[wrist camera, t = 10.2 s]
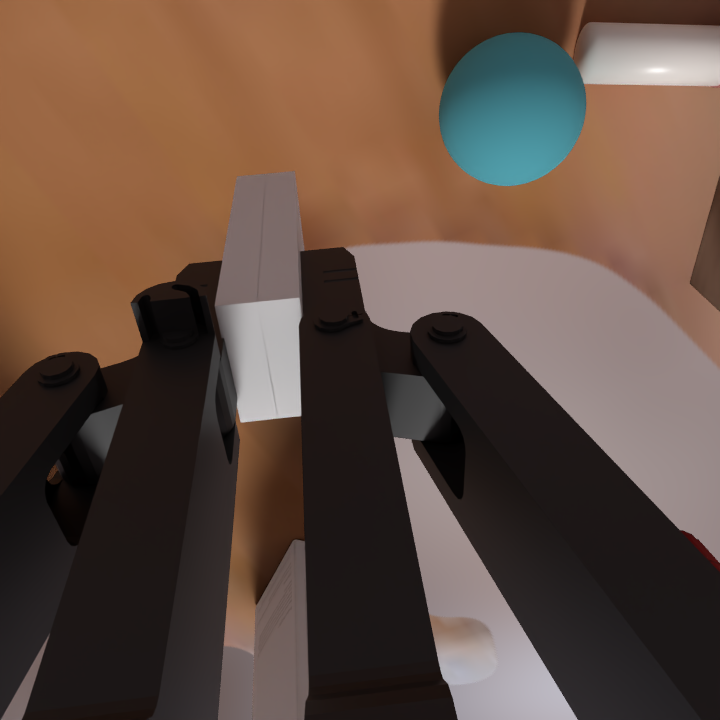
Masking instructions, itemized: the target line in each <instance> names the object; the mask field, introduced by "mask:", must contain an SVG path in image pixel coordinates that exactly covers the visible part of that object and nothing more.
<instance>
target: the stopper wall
mask: <svg viewBox="0 0 720 720" xmlns="http://www.w3.org/2000/svg"><path fill="white" fill-rule="evenodd" d="M690 284H691V285H692V286H693V287H694V288H695V289H696V290H697V291H698V292H699V293H700V294H701V295H703V296H704V297H705V298H706V299H707V300H708V301H709V302H710V303H711V304H712V305H713V306H714V307H715V308H716V309H717V310H719V311H720V178H719V182H718V185H717V189H716V193H715V196H714V200H713V203H712V207H711V210H710V214H709V217H708V221H707V225H706V228H705V232H704V235H703V239H702V242H701V246H700V250H699V253H698V257H697V260H696V264H695V267H694V271H693V275H692V278H691V282H690Z"/></svg>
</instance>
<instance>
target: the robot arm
mask: <svg viewBox="0 0 720 720" xmlns="http://www.w3.org/2000/svg"><path fill="white" fill-rule="evenodd" d="M131 306H132V309H133V313H134V316H135V319H136V322H137V325H138V328H139V332H140V335H141V338H142V341H143V343H142V346H141V349H140V352H139V356H137V357H135V358H133V359H130V360H127V361H124V362H121V363H118V364H114V365H111V366H108V367H104V368H100V366H99V363H98V360H97V358H95V357H94V356H92V355H91V354H89V353H83V352H67V353H66V352H65V353H59V354H57V355H52V356H49V357H47V358H46V359H44V360H42V361H40V362H38V363H36V364H34V365H33V366H32V367H30V368H29V369H28V370H27V371H25V372H24V373H23V374H22V375H21V377H20V378H19V379H18V380H17V381H16V382H15V383H14V384H13V385H12V386H11V387H10V388H9V389H8V391H7V392H6V393H5V394H4V395H3V396H2V397H1V398H0V720H1V719H2V717H3V715H4V713H5V711H6V710H7V708H8V706H9V704H10V703H11V701H12V699H13V697H14V696H15V694H16V692H17V690H18V689H19V687H20V685H21V683H22V682H23V680H24V678H25V676H26V674H27V673H28V671H29V669H30V667H31V666H32V664H33V662H34V660H35V659H36V657H37V655H38V653H39V652H40V650H41V648H42V646H43V645H44V643H45V641H46V639H47V637H48V636H49V638H48V641H47V644H46V647H45V650H44V654H43V657H42V660H41V663H40V666H39V669H38V672H37V676H36V679H35V682H34V685H33V688H32V691H31V694H30V698H29V701H28V704H27V707H26V710H25V713H24V715H23V718H22V720H218V707H219V695H220V682H221V670H222V658H223V657H222V656H223V645H224V633H225V620H226V607H227V595H228V582H229V570H230V557H231V544H232V532H233V519H234V507H235V494H236V481H237V469H238V456H239V444H240V439H239V434H238V430H237V425H236V421H235V419H236V408H238V412H239V417H240V421H241V422H250V421H259V420H268V419H277V418H287V417H296V416H301V425H302V461H303V496H304V531H305V567H306V602H307V638H308V673H309V691H308V697H307V699H306V701H305V714H304V720H458V719H457V715H456V711H455V707H454V702H453V698H452V695H451V692H450V689H449V686H448V684H447V683H446V681H445V680H444V679H443V677H442V674H441V671H440V666H439V662H438V657H437V652H436V647H435V642H434V637H433V632H432V627H431V622H430V617H429V612H428V607H427V603H426V597H425V592H424V588H423V582H422V577H421V572H420V567H419V562H418V558H417V552H416V547H415V543H414V537H413V532H412V527H411V522H410V517H409V513H408V508H407V502H406V497H405V492H404V487H403V483H402V477H401V472H400V467H399V462H398V458H397V453H396V447H395V443H394V437H398V438H406V439H412V443H413V447H414V450H415V451H416V453H417V455H418V456H419V458H420V460H421V461H422V463H423V465H424V466H425V468H426V470H427V471H428V473H429V474H430V476H431V478H432V479H433V481H434V483H435V484H436V486H437V488H438V489H439V491H440V492H441V494H442V496H443V498H444V499H445V501H446V503H447V504H448V506H449V508H450V509H451V511H452V512H453V514H454V516H455V517H456V519H457V521H458V522H459V524H460V526H461V527H462V529H463V531H464V532H465V534H466V535H467V537H468V539H469V541H470V542H471V544H472V546H473V547H474V549H475V550H476V552H477V553H478V555H479V557H480V558H481V560H482V562H483V564H484V565H485V567H486V569H487V570H488V572H489V574H490V575H491V577H492V578H493V580H494V582H495V583H496V585H497V587H498V588H499V590H500V592H501V593H502V595H503V597H504V598H505V600H506V602H507V603H508V605H509V607H510V608H511V610H512V611H513V613H514V615H515V617H516V618H517V620H518V621H519V623H520V625H521V626H522V628H523V630H524V631H525V633H526V635H527V636H528V638H529V639H530V641H531V643H532V645H533V646H534V648H535V650H536V651H537V653H538V655H539V656H540V658H541V659H542V661H543V663H544V664H545V666H546V668H547V669H548V671H549V673H550V674H551V676H552V678H553V679H554V681H555V683H556V684H557V686H558V687H559V689H560V691H561V692H562V694H563V696H564V697H565V699H566V701H567V702H568V704H569V706H570V707H571V709H572V710H573V712H574V714H575V715H576V717H577V719H578V720H720V572H719V571H718V570H717V569H716V568H715V567H714V566H713V564H712V563H711V562H710V561H709V560H708V559H707V558H706V557H705V556H704V555H703V554H702V553H701V552H700V551H699V550H698V549H697V548H696V547H695V546H694V545H693V544H692V543H691V542H690V540H689V539H688V538H687V537H686V536H685V535H684V534H683V533H682V532H681V531H680V530H679V529H678V528H677V527H676V526H675V525H674V524H673V523H672V522H671V521H670V520H669V519H668V518H667V517H666V516H665V514H664V513H663V512H662V511H661V510H660V509H659V508H658V507H657V506H656V505H655V504H654V503H653V502H652V501H651V500H650V499H649V498H648V497H647V496H646V495H645V494H644V493H643V491H642V490H641V489H640V488H639V487H638V486H637V485H636V484H635V483H634V482H633V481H632V480H631V479H630V478H629V477H628V476H627V475H626V474H625V473H624V472H623V471H622V470H621V469H620V467H619V466H618V465H617V464H616V463H614V461H613V460H612V459H611V458H610V457H609V456H608V455H607V454H606V453H605V452H604V451H603V450H602V449H601V448H600V447H599V446H598V445H597V444H596V442H594V440H593V439H592V438H591V437H590V436H589V435H588V434H587V433H586V432H585V431H584V430H583V429H582V428H581V427H580V426H579V425H578V424H577V423H576V422H575V421H574V420H573V419H572V417H570V415H569V414H568V413H567V412H566V411H565V410H564V409H563V408H562V407H561V406H560V405H559V404H558V403H557V402H556V401H555V400H554V399H553V398H552V397H551V396H550V394H549V393H548V392H547V391H546V390H545V389H544V388H543V387H542V386H541V385H540V384H539V383H538V382H537V381H536V380H535V379H534V378H533V377H532V376H531V375H530V374H529V373H528V372H527V371H526V369H524V368H523V366H522V365H521V364H520V363H518V361H517V360H516V359H515V358H514V357H513V356H512V355H511V354H510V353H509V352H508V351H507V350H506V349H505V348H504V347H503V346H502V344H501V343H500V342H499V341H498V340H497V339H496V338H495V337H494V336H493V335H492V334H491V333H490V332H489V331H488V330H487V329H486V328H485V327H484V326H483V325H482V324H481V323H480V322H479V321H477V320H476V319H474V318H473V317H471V316H468V315H465V314H461V313H457V312H439V313H432V314H429V315H426V316H424V317H421V318H420V319H418V320H417V321H416V322H415V323H414V324H413V325H412V328H411V331H410V333H408V332H398V331H392V330H387V329H384V328H381V327H379V326H377V325H375V324H374V323H372V322H371V321H370V318H369V316H368V315H367V313H366V312H365V309H364V304H363V298H362V293H361V288H360V283H359V279H358V273H357V268H356V263H355V258H354V256H353V255H352V254H351V253H350V252H348V251H347V250H346V249H345V248H344V247H340V248H329V249H319V250H309V251H304V244H303V235H302V227H301V219H300V211H299V202H298V194H297V186H296V178H295V171H292V172H281V173H270V174H259V175H248V176H238V177H237V180H236V186H235V191H234V197H233V203H232V209H231V214H230V220H229V226H228V232H227V237H226V243H225V249H224V255H223V260H222V261H213V262H202V263H192V264H189V265H188V266H186V267H185V268H184V269H183V270H182V271H181V272H180V273H179V274H178V275H177V277H176V281H173V282H167V283H162V284H158V285H156V286H153V287H150V288H148V289H146V290H144V291H143V292H141V293H139V294H138V295H136V297H135V298H134V299H133V301H132V302H131ZM54 464H55V465H56V467H57V469H58V471H57V472H56V474H55V475H54V477H53V478H52V479H51V480H50V481H48V480H47V477H48V475H49V472H50V470H51V469H52V467H53V466H54ZM49 634H50V635H49Z"/></svg>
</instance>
